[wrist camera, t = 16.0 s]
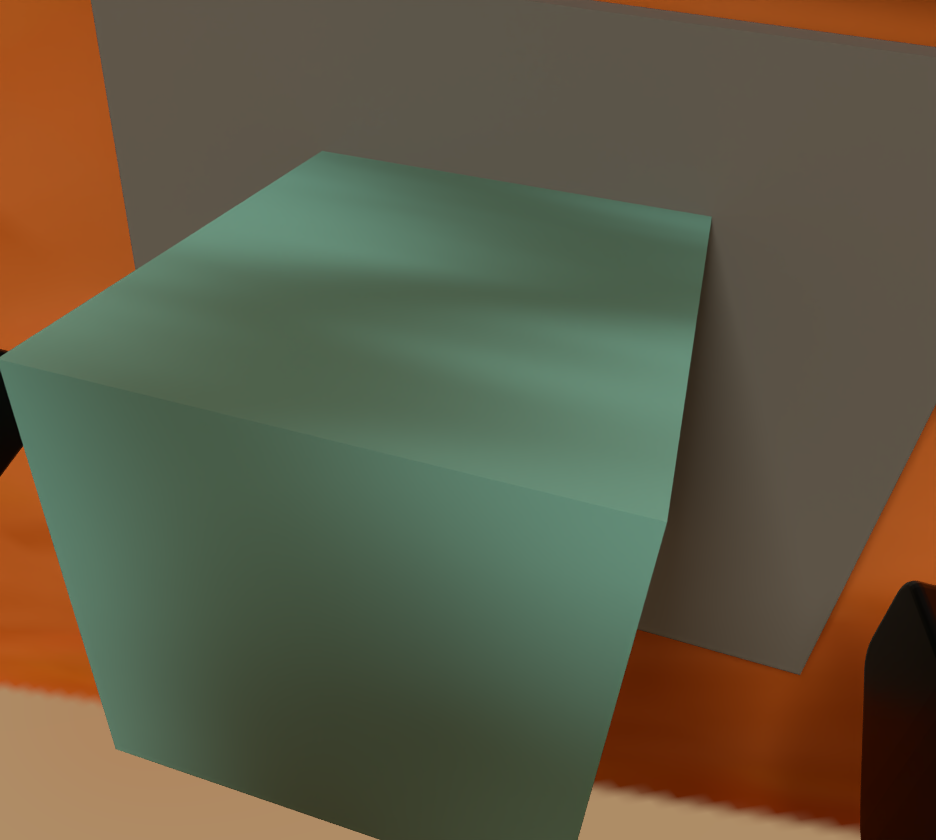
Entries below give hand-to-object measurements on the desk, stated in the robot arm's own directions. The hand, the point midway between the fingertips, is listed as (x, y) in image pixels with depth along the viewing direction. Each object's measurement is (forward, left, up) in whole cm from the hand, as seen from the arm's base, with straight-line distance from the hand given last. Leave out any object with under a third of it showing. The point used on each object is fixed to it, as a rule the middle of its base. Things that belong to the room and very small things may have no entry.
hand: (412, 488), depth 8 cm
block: (0, 0, -3) cm, 3 cm away
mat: (0, 0, -3) cm, 3 cm away
